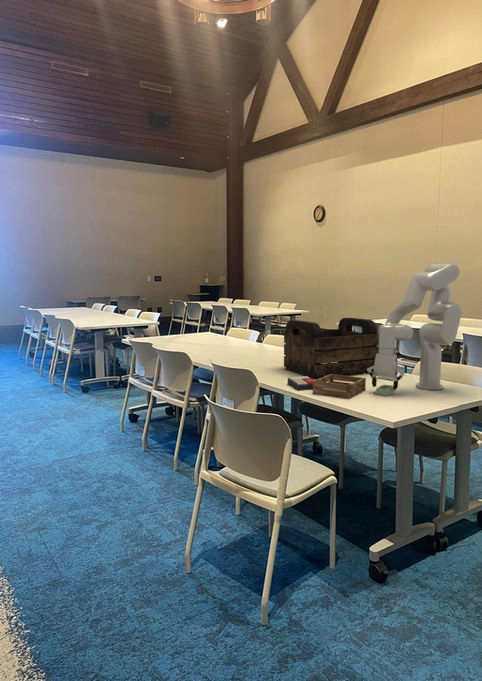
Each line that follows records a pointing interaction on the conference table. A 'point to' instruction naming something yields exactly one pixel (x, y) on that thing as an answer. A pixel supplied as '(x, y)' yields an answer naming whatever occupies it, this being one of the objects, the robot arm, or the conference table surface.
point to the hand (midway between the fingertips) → (384, 387)
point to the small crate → (385, 390)
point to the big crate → (339, 386)
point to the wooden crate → (330, 348)
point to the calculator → (301, 383)
